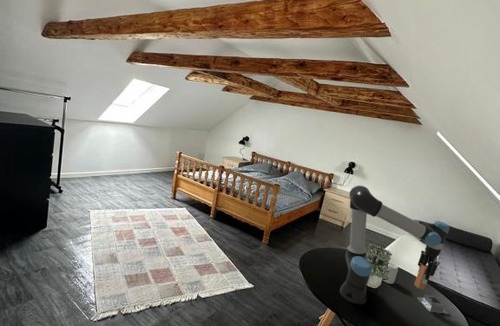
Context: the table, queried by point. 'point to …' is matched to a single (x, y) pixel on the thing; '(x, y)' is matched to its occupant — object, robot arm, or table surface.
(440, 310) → the grey square socket
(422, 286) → the orange square peg
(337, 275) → the table surface
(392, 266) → the beverage can
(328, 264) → the table surface
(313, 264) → the table surface
